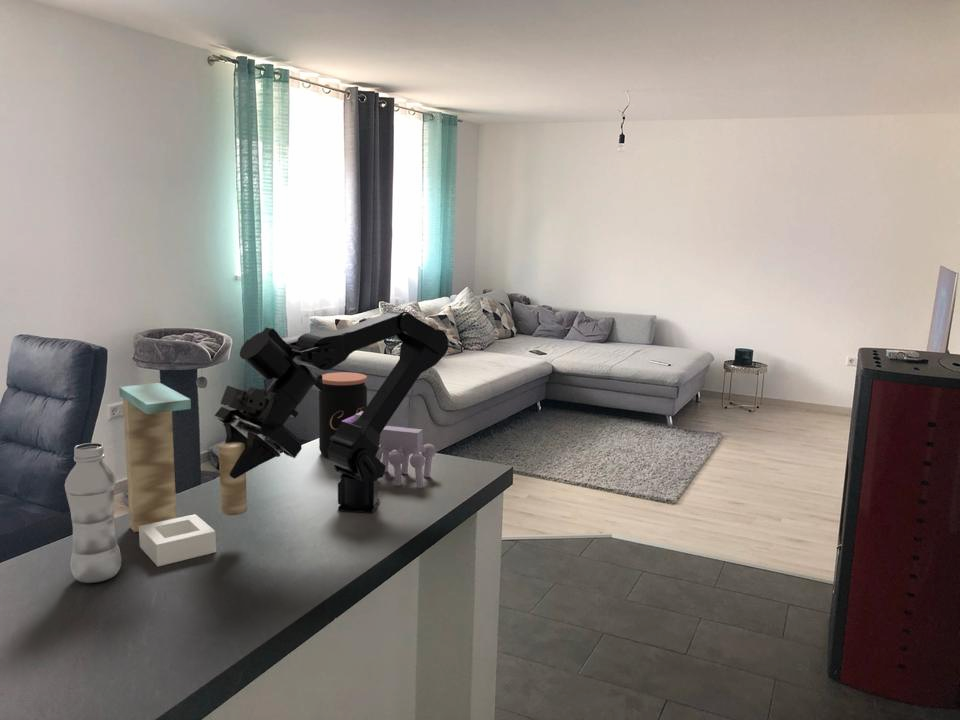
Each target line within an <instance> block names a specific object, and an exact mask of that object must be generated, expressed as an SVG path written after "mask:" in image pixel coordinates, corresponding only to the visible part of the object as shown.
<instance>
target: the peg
mask: <svg viewBox="0 0 960 720" xmlns="http://www.w3.org/2000/svg"><path fill="white" fill-rule="evenodd" d="M244 449H245V444H244V443H241V442H228V443H225V442H224V443H220V444H219V445H218V461H219V468H220V472H219V488H220V506H221V507H220V508H221V514H222V515H224V516H239V515H243V514H245V513H246V512H247V511H248V496H247V495H248V494H247V493H248V492H247V491H248V490H247V472H246V473H244V474H242V475H241V476H239V477H237V478H235V479H234V478H232V477H231V476H230V472H231V470H232V469H233V467H234V465H235V464H236V462H237V460H238V459H239V457H240V456H241V454H242V452H243V451H244Z"/></svg>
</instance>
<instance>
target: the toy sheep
mask: <svg viewBox="0 0 960 720" xmlns="http://www.w3.org/2000/svg"><path fill="white" fill-rule="evenodd" d="M363 412H364V411H361V412H359V413H357V414H356V415H354V416H352V417H350V418H347V419H345V420H343V421H342V422H347V423H350V424H351V423H353V422H355V421H356V420H358V419H359V417H360V416H361V414H362V413H363ZM423 433H424V432H423V428H421V429H420V428H411V427H403V426H391V425H386V426H385V428H384V429H383V430H382V432H381V434H380V441H379V450H378V452H377V454H376V456H375V457H376V458H378V459H379V460H380V461H381V460H382V461H381V462H382V463H383V464H384V465H385V466H386V468H385V472H384V473H386V472H388V471H389V464H390V465H391V466H393V470H394V471H393V472H394V482H395V483H394V484H395V486H396V485H397V487H399V486H402V485H403V476H402V474H404V475H408V471H409V464H410V466H411V467H412V468H414V471H415V482H416V484H415V485H416V488H417V487H418V488H417V489H422V488H423V487H424V478H430V477H431V470H432V461H433V457H434V456H435V454H436V447H435V446H434V445H433V444H432V443H426V444H424V445H423V442H424V441H423V437H424V435H423ZM423 467H424V469H423ZM379 480H380V478H378V479H377V483H378V482H379Z"/></svg>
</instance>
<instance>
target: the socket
mask: <svg viewBox="0 0 960 720" xmlns="http://www.w3.org/2000/svg"><path fill="white" fill-rule="evenodd" d="M138 536H139V537H138V539H139V540H138V541H139V548H141V550H142V551H143V552H144V553H145V554H146V555H147V557H148V558H149V559H150V560H151V561H152V562H153V563H154V564H155V565H156V567H161V566H165V565H169V564H170V565H171V564H173V563H174V564H175V563H178V562H182V561H185V560H189V559H194V558H197V557H202V556H206V555H210V554H213V553H216V552H217V537H216V530H214V528H213V527H211V526H210V525H209V524H207V522H205V521H204V520H203V519H202V518H201V517H199V516H198V515H197V514H195V513H194V514H191V515H185V516H181V517H180V516H179V517H176V518H175V519H170V520H165V521H161V522H156V523H151V524H146V525H142V526H139V531H138Z"/></svg>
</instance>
